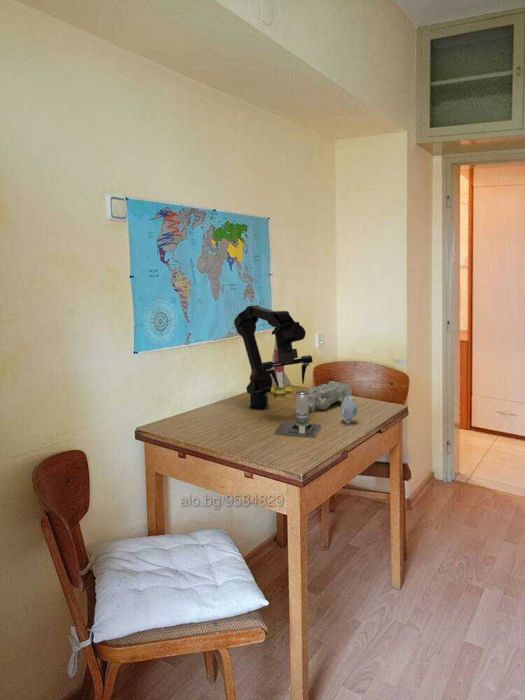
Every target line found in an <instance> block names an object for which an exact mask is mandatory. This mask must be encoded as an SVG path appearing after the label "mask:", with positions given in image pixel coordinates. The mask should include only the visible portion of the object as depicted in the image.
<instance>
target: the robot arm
mask: <svg viewBox="0 0 525 700" xmlns="http://www.w3.org/2000/svg"><path fill="white" fill-rule="evenodd" d="M259 319H260V320H263V321H266V322H267V324H268V325H269V326H271V327H272V328H273V330H272V332H271V335H274V337H275V339H276V345H277V351H278V360H279V362H275V363H273V360H271V361H265V362H263V361H262V357H261V354H260V350H259V347H258V344H257V343H258V342H257V340H256V339H257V338H256V335H255V333H256V329H257V322H258V321H259ZM233 325H234V327H235V329H236V332H237V333H238V335H240V336H241V338H242V340H243V343H244V347H245V351H246V355H247V358H248V362H249V365H250V366H249V367H250V369H251V371H250V376H249V381H250V382H249V384H247V386H246V389H245V390H246V393H247V394H248V395H250V406H249V407H248V408H249V409H253V410H254V409H255V410H265V409H266V408H268V407H269V397H268V396H267V392H270V391H271V387H272V386H273V385H272V377H273V378H274V380H275V384H276V385H277V387H278V388H279V383H278V380H277V376H276V373H275V370H274V367H279V366H284V367H285V366H290V365H291V366H292V365H297V364H301V381H302V385H304V383H305V378H306V371H307V367H308V366H310V364H312V363H313V362H314V361H313V356H312V355H302V356H300V358H299V357H298V349H297V348H293V343H295V342H299V341H302V340H304V338H305V337H306V330H305V328H304V327H303V326H302V325H301V324H300V321H295V320H294V319H293V317H292V316H291V315H290V312H289V311H288V310H271V309H268V308H265V307H262V306H259V305H257V304H256V305H255V304H253V305H249V306H246V307H245V309H244V310H242V311H241V312H240V313H238V315H237V316H236V317H235V318H234V320H233ZM271 375H272V377H271ZM271 392H272V391H271Z"/></svg>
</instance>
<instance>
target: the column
mask: <svg viewBox="0 0 525 700" xmlns="http://www.w3.org/2000/svg"><path fill="white" fill-rule="evenodd" d="M308 398H309V392H308V390H297V391H295V410H294V419H293V420H294V422H295V426H296V429H298V430H299V426H300V425H303V426H306V430H308V426H309V424H310V423H309V421H310V417H309V415H310V411H309V410H308Z"/></svg>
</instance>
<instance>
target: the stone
mask: <svg viewBox="0 0 525 700" xmlns="http://www.w3.org/2000/svg"><path fill="white" fill-rule="evenodd" d="M351 389H352V388H351V386H350V385H349V384H347V383H345V382H340V381H339V382H337V381H334V380H330V381H329V382H328V383H327V384H326V383H322V384H320V385H317V386H311V387H309V388H308V390H307V391H308V392H309V398H308V411H309V412H312V413H314V411H315V410H326V409H327V410H328V408H329V407H330V406H331V405H333V404H334V403H336V402H341V403H342V402H343V400H344V398H345V397H346V394H347V392H350V390H351Z"/></svg>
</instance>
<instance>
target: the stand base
mask: <svg viewBox="0 0 525 700" xmlns="http://www.w3.org/2000/svg"><path fill="white" fill-rule="evenodd" d="M295 422H296V421H282V423H281V424H280V425H279V426H278V427H277V429H275V431H274V435H280V436H288V437H289V436H290V437H291V436H292V437H299V436H300V437H299V438H309V437H314V438H313V439H315V438H316V437H317V436H318V434H319V432H320V430H322V429H321V428H322V424H321V423H320V424H319V423H318V424H317V423H309V426H308V430H306V426H303V425H300V426H299V430H298V429H296V426H295ZM317 433H318V434H317ZM315 436H316V437H315Z"/></svg>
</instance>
